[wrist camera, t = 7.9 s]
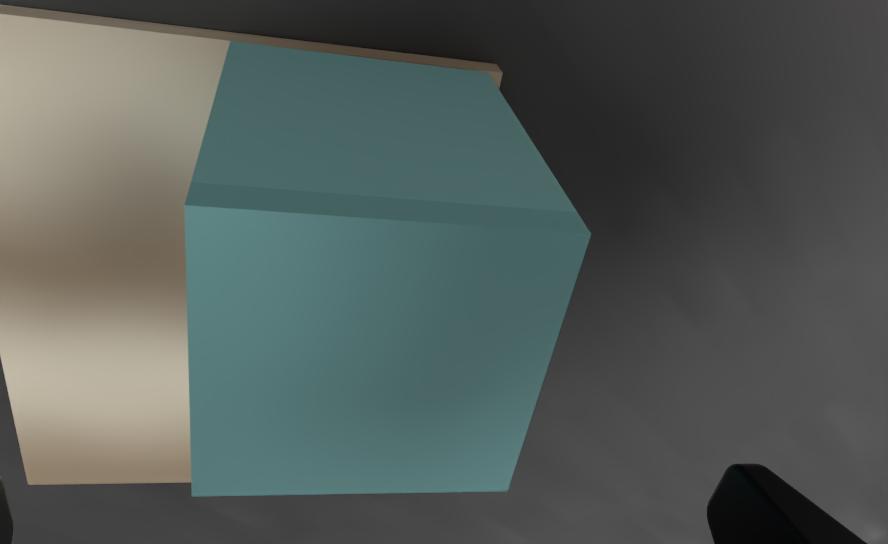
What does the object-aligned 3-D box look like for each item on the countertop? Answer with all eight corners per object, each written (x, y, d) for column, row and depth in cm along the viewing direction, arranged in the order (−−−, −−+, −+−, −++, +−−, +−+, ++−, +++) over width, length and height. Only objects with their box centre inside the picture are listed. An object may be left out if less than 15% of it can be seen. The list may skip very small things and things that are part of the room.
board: (413, 463, 23) (415, 478, 22) (34, 467, 20) (27, 484, 20) (496, 64, 16) (503, 72, 16) (-62, -4, 14) (-75, 5, 13)
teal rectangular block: (445, 276, 18) (507, 491, 12) (227, 265, 17) (191, 496, 11) (488, 72, 15) (591, 234, 10) (230, 41, 14) (184, 205, 8)
